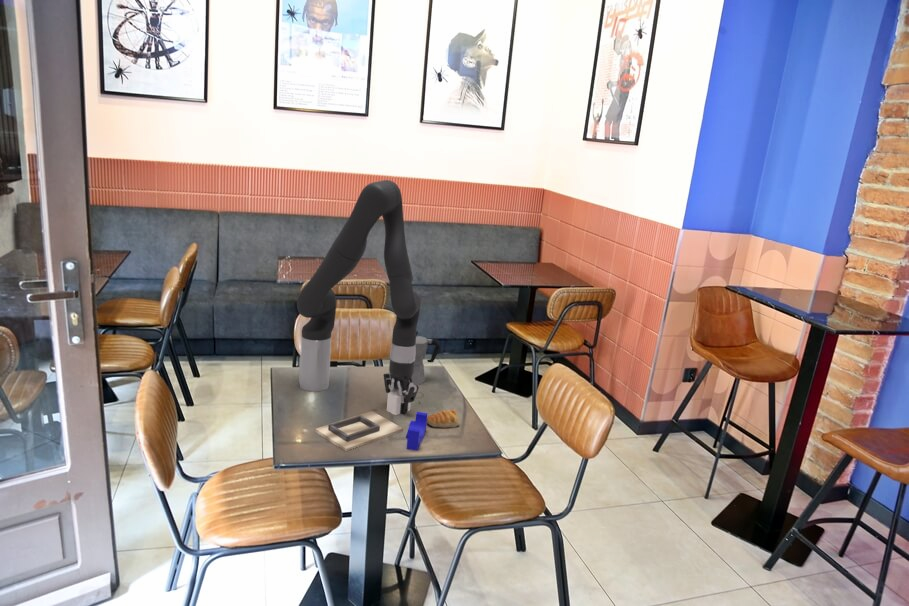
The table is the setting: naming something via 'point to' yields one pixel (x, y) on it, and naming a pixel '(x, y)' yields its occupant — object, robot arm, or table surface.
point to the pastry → (444, 419)
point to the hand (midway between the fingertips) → (398, 410)
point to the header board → (358, 430)
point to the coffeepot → (422, 357)
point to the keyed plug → (395, 402)
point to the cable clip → (416, 431)
